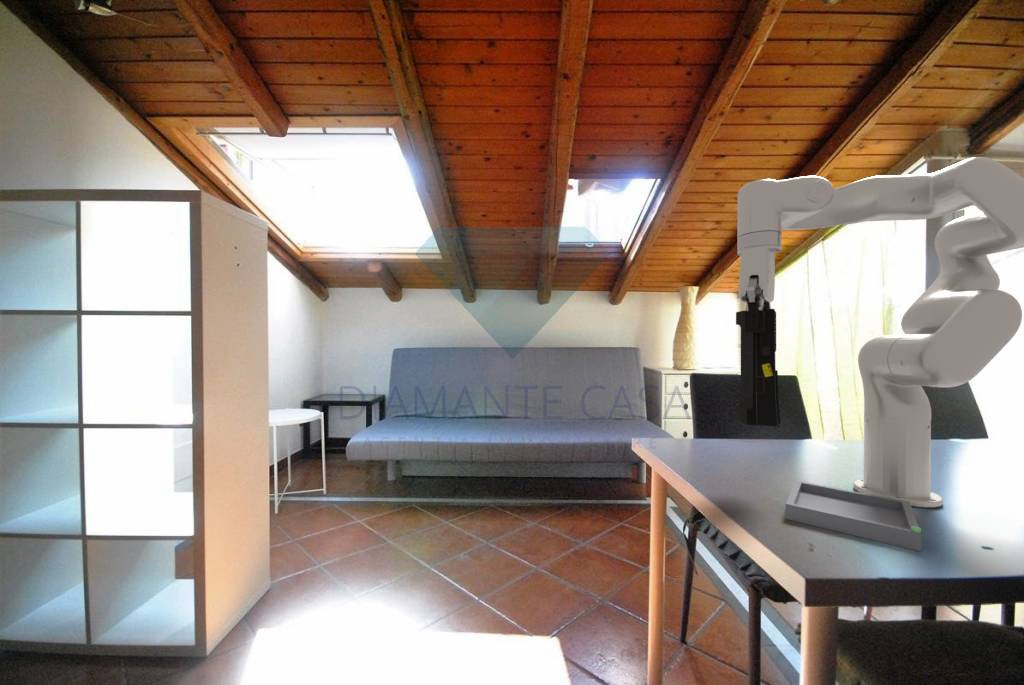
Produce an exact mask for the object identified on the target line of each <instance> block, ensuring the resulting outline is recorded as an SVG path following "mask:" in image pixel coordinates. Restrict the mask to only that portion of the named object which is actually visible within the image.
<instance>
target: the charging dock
mask: <svg viewBox="0 0 1024 685" xmlns="http://www.w3.org/2000/svg"><path fill="white" fill-rule="evenodd" d="M912 507H913V506H911V505H910V502H908V501H902V500H897V499H892V498H886V497H881V496H876V495H870V494H865V493H860V492H858V491H853V490H849V489H843V488H837V487H832V486H826V485H822V484H817V483H812V482H808V481H807V482H805V481H801V480H795V481H794V484H793V486H792V488H791V491H790V494H789V495H788V498H787V500H786V503H785V520H789V521H792V522H797V523H801V524H805V525H810V526H813V527H818V528H821V529H826V530H831V531H834V532H839V533H843V534H847V535H851V536H855V537H858V538H864V539H868V540H872V541H875V542H880V543H884V544H888V545H892V546H897V547H901V548H904V549H908V550H913V551H916V552H922V528H921V527H920V526H919V523H918V521H917V518H916V515H915V512H914V510H913V508H912Z"/></svg>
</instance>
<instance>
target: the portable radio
mask: <svg viewBox="0 0 1024 685" xmlns="http://www.w3.org/2000/svg"><path fill="white" fill-rule="evenodd" d="M763 311H765V331H764V332H762V333H746V332H745V312H746V311H745V309H744V310H740V311H736V312H735V325H737V326H738V325H739V327H740V397H739V398H740V399H739V400H740V401H739V402H738V403H736V404H735V419H736V420H737V421H739V422H741V423H743V424H744V425H747V426H757V427H778V426H779V425H780V424H781V414H780V412H781V411H780V401H779V398H780V397H779V377H778V376H779V372H778V370H777V368H776V351H777V312H776V310H775V308H771V309H763Z"/></svg>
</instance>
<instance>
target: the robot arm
mask: <svg viewBox="0 0 1024 685" xmlns="http://www.w3.org/2000/svg"><path fill="white" fill-rule="evenodd" d="M973 207H976V208H977V209H978V210H979V211H977V212H974V213H971V214H967V215H963V216H961V217H959V218H956V219H953V220H952V221H949V222H947V223H946V224H945V225H944V226H942V227H941V228H940V229H939V230H938V232H937V233H936V236H935V239H934V249H935V252H936V255H937V257H938V260H939V265H940V272H939V274H938V276H937V277H936V279H935V280H934V281H933V283H932V284H931V285H930V286H929V287H928V288H927V289H925V291H924V292H923V293H922V294H921V295H920V296H919V297H918V298H917V299H916V300H915V301H914V302H913V304H911V306H910V307H908V309H907V310H906V311H905V313H904V314H903V316H902V319H901V323H900V324H901V330H902V331H903V333H904V334H890V335H889V334H886V335H882V336H877V337H875V338H872V339H870V340H868V341H867V342H865V344H864V345H863V346H862V347H861V348H860V350H859V353H858V357H857V362H858V363H857V364H858V369H859V373H860V377H861V380H862V381H861V382H862V388H863V399H864V400H863V402H864V403H863V404H864V405H863V406H864V408H863V411H864V412H863V478H861V479H856V480H854V481H853V488H854V489H855V491H856V492H860V493H865V494H870V495H876V496H881V497H886V498H892V499H897V500H902V501H908V502H910V505H911V507H917V508H939V507H941V506H942V505H943V502H944V499H943V497H941V496H940V495H939V494H937V493H935V492H933V491H931V479H932V478H931V476H932V475H931V469H932V468H931V467H932V466H931V464H932V463H931V461H932V460H931V455H932V452H931V451H932V448H931V444H932V443H931V442H932V441H931V440H932V406H931V404H930V400H929V398H928V395H927V394H926V392H925V390H924V388H923V387H929V388H955V387H958V386H963V385H964V384H966V383H968V382H969V381H971V380H972V379H974V378H975V377H976V376H978V375H979V373H980V372H981V371H983V369H984V368H986V366H987V365H988V364H989V363H991V361H992V360H993V359H994V358H995V357H996V356H997V355H998V354H999V353H1000V352H1001V351H1002V350H1003V349H1004V348H1005V347H1006V345H1008V343H1010V341H1011V340H1012V339H1013V338H1014V337H1015V335H1016V334H1017V332H1018V331H1019V329H1020V326H1021V323H1022V320H1023V309H1022V307H1021V304H1020V302H1019V301H1018V299H1017V298H1016V297H1014V296H1013V295H1012V294H1010V293H1008V292H1007V291H1003V290H1000V289H999V287H1000V282H1001V280H1000V277H999V274H998V272H997V271H996V270H995V269H994V267H993V266H992V264H991V262H990V259H989V258H988V256H987V255H991V254H997V253H1002V252H1006V251H1007V252H1008V251H1012V250H1017V249H1022V248H1024V178H1023V177H1022V176H1020V175H1019V173H1016V172H1015V171H1014V170H1013V169H1011V168H1009V167H1008V166H1006V165H1004V164H1003V163H1001V162H998V161H996V160H995V159H991V158H988V157H984V156H983V157H982V156H977V157H975V156H974V157H969V158H966V159H964V160H961V161H959V162H957V163H955V164H952V165H950V166H947V167H945V168H943V169H941V170H937V171H935V172H931V173H926V174H925V173H923V174H922V173H921V174H902V175H900V174H899V175H895V174H894V175H875V176H871V177H866V178H862V179H859V180H855V181H854V182H850V183H847V184H845V185H843V186H839V187H836V188H834V186H833V183H831V182H830V181H829V180H828V179H826V178H824V177H821V176H817V175H807V176H799V177H793V178H788V179H787V178H786V179H780V180H779V179H778V180H776V179H773V178H772V179H771V178H767V179H766V178H765V179H757V180H754V181H751V182H747V183H746V184H744V185H743V186H741V188H740V189H739V190H738V192H737V228H736V229H737V232H736V233H737V234H736V235H737V237H736V238H737V241H736V242H737V243H736V244H737V248H736V249H737V252H736V253H737V256H739V257H740V264H739V277H738V278H739V280H738V282H739V283H738V299H739V300H740V301H741V302H743V303H745V308H744V310H745V311H746V312H745V332H746V333H762V332H764V331H765V311H763V309H772V307H771V306H772V304H771V303H772V302H773V301H774V299H775V282H776V281H775V280H776V279H775V277H776V271H775V268H776V265H775V264H776V263H775V261H776V258H775V254H778V253H780V252H782V251H783V249H782V246H783V244H782V240H783V238H782V236H783V235H782V234H783V233H782V232H783V231H803V230H813V229H815V230H816V229H823V228H828V227H836V226H845V225H853V224H858V223H864V222H879V221H880V222H883V221H886V222H888V221H917V220H920V221H921V220H930V219H936V218H939V217H943V216H946V215H950V214H954V213H955V212H959V211H962V210H966V209H969V208H973Z"/></svg>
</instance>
